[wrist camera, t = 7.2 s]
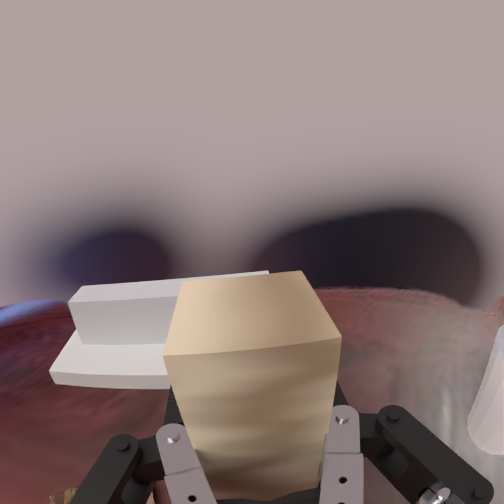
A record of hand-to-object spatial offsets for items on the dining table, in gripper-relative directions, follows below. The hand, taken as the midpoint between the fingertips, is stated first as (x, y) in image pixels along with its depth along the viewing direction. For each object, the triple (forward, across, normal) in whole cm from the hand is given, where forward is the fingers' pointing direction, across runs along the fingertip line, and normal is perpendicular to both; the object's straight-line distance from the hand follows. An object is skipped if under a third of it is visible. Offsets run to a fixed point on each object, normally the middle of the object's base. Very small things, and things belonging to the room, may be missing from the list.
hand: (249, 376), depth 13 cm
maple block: (-3, 0, +7) cm, 7 cm away
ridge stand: (+12, +6, +7) cm, 15 cm away
